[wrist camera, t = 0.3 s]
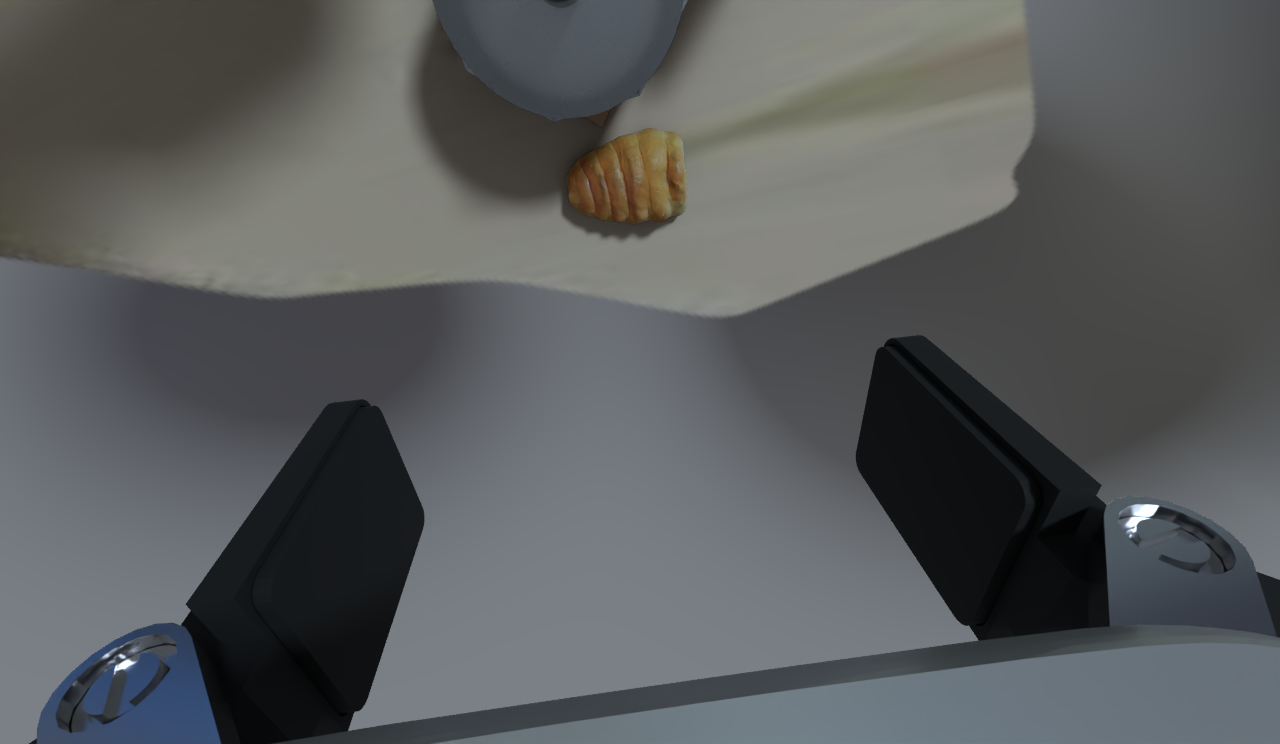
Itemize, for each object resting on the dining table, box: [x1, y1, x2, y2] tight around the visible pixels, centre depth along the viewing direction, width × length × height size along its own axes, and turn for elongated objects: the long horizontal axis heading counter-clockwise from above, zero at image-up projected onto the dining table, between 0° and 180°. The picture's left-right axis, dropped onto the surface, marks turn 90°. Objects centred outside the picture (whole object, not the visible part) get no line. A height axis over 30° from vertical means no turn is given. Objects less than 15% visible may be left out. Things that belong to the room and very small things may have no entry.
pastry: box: [566, 128, 687, 224], centre depth 40 cm, size 9×7×4 cm
